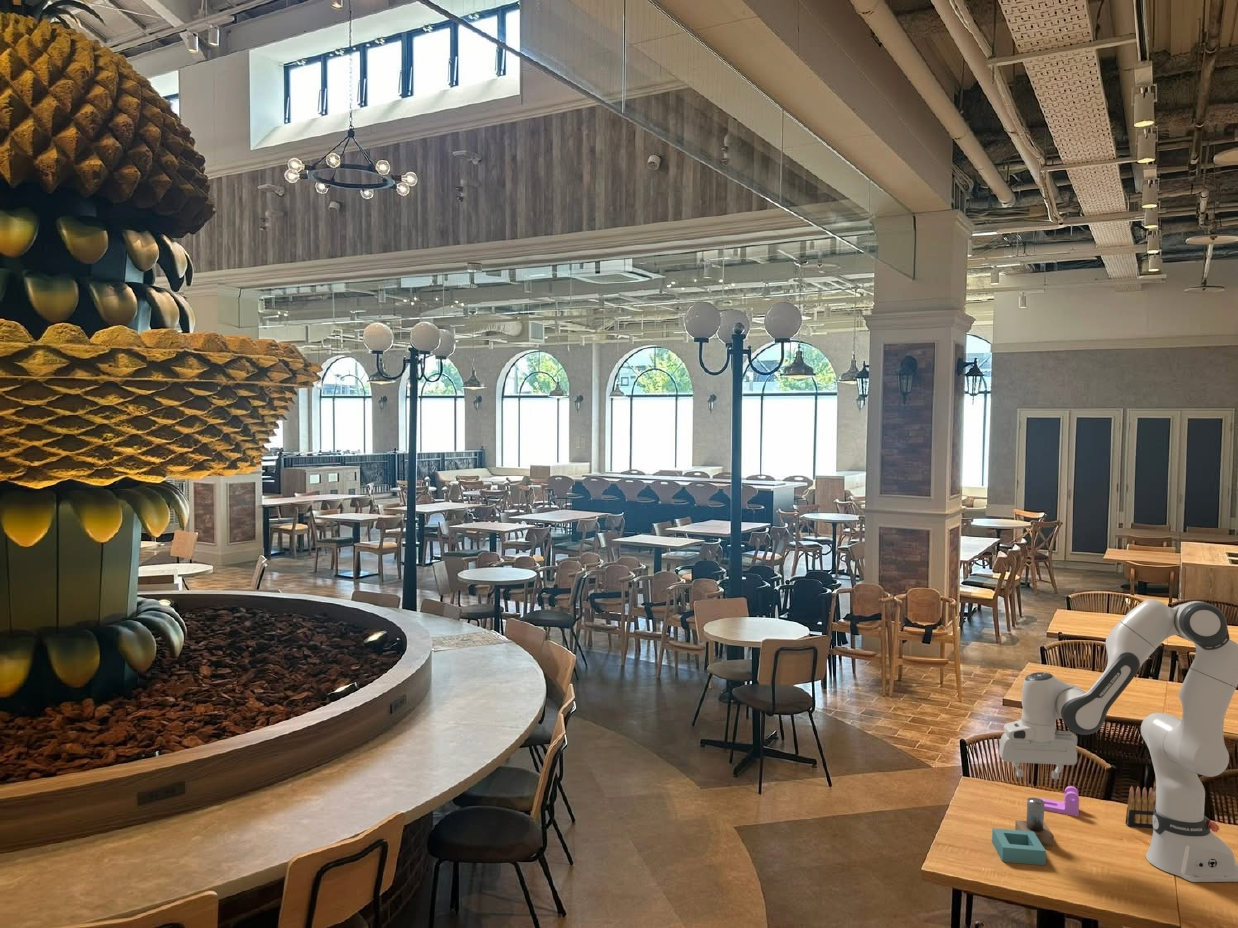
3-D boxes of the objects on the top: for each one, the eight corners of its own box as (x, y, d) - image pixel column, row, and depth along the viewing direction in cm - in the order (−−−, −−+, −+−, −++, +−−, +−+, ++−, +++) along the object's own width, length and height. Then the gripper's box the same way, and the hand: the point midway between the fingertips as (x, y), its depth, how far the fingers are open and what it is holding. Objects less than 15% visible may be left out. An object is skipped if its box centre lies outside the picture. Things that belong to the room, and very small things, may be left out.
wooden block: (1044, 832, 256) (1044, 822, 256) (1053, 845, 248) (1053, 835, 248) (1015, 830, 257) (1015, 820, 257) (1023, 843, 249) (1023, 833, 249)
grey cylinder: (1040, 824, 254) (1041, 797, 254) (1045, 832, 250) (1046, 804, 249) (1024, 823, 255) (1025, 796, 254) (1028, 830, 250) (1029, 803, 250)
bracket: (1077, 809, 271) (1078, 787, 271) (1078, 816, 266) (1079, 794, 266) (1031, 800, 277) (1032, 779, 276) (1031, 807, 272) (1031, 786, 271)
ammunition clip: (1164, 826, 260) (1165, 786, 260) (1166, 829, 258) (1168, 789, 258) (1125, 823, 262) (1127, 784, 261) (1128, 826, 260) (1129, 787, 259)
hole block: (1033, 845, 248) (1033, 831, 248) (1045, 865, 237) (1045, 850, 237) (991, 841, 250) (992, 828, 250) (1002, 861, 239) (1002, 847, 239)
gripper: (1073, 727, 252) (1072, 774, 253) (997, 724, 255) (997, 770, 256) (1081, 735, 246) (1080, 783, 246) (1003, 732, 249) (1003, 779, 250)
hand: (1037, 777), depth 251 cm, fingers open, 8 cm apart
